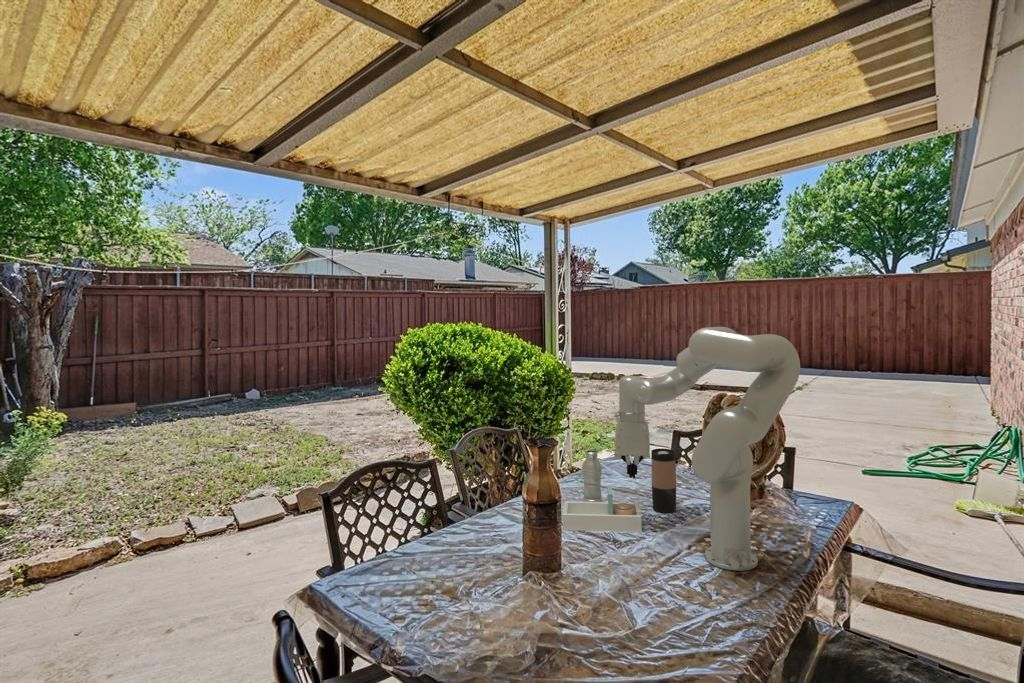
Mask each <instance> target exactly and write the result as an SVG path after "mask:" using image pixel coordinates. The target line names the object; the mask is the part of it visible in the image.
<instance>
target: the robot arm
mask: <svg viewBox="0 0 1024 683" xmlns="http://www.w3.org/2000/svg"><path fill="white" fill-rule="evenodd" d="M675 360H676V365H677V366H676V367H675V368H673V369H672V370H670V372H667V374H665V375H663V376H655V377H649V378H648V377H647V378H643V377H642V376H638V375H627V376H626V375H624V376H622V377H620V379H619V381H618V383H619V384H618V385H619V386H618V387H619V388H618V391H619V393H618V394H619V395H618V398H619V400H618V401H619V402H618V403H619V406H618V408H619V410H618V412H614V418H618V419H619V420H617V421H616V426H615V435H614V436H615V438H614V448H615V449H614V452H613V456H614V457H615V458H617V459H621V460H622V461H623V462H625V464H626V474H627V475H628V476H629V479H632V478H633V479H636V475H637V476H638V466H639V464H640V463H641V461H643V460H646V459H651V454H650V451H651V450H650V449H651V446H650V445H651V444H650V443H651V442H650V441H651V440H650V428H649V424H648V422H647V421H646V416H645V415H646V412H645V411H646V409H645V408H646V407H645V405H647V406H649V405H650V406H651V405H656V404H661V403H665V402H670V401H673V400H675V399H676V398H678V397H680V396H681V395H683V394H684V393H686V392H687V391H689V390H691V388H693V387H694V386H695V385H696V383H698V381H699V379H701V378H702V377H704V376H705V375H707V374H708V373H710V372H711V371H713V370H714V369H716V368H718V367H721V368H726V369H731V370H735V371H740V372H746V373H752V372H754V373H756V372H759V374H758V376H756V378H755V379H754V380H753V381H752V383H751V384H750V385H749V387H748V389H747V390H746V393H745V394H744V395H743V397H742V399H741V400H740V401H739V402H738V404H737V405H735V406H731V407H728V408H725V409H722V410H720V411H719V412H717V413H716V414H715V415H714V416H713V417H712V419H710V421H709V423H708V425H707V426H706V428H705V430H704V431H703V433H702V435H701V437H700V438H699V440H698V442H697V444H696V446H695V447H694V450H693V451H692V456H691V460H690V461H691V468H692V470H693V473H694V474H695V476H696V477H697V478H698V479H699V480H701V481H702V482H705V483H707V484H709V483H710V487H709V489H710V490H709V491H710V492H709V505H710V506H709V508H710V510H709V511H710V512H709V513H710V518H709V519H710V546H709V547H708V548H707V549H705V551H704V558H705V560H706V561H707V562H708V563H709V564H711V565H712V566H715V567H718V568H720V569H723V570H728V571H739V572H744V571H749V570H753V569H754V568H757V566H758V561H759V560H758V557H757V555H756V554H754V553H753V552H752V551H751V550H752V549H751V548H752V544H751V541H752V539H751V537H752V536H751V535H752V534H751V481H752V474H753V467H754V457H753V456H754V455H753V453H752V450H751V448H750V446H751V445H753V444H756V443H758V442H760V441H762V439H764V437H765V436H766V435H767V433H768V432H769V430H770V429H771V426H772V425H773V424H774V422H775V420H776V418H777V416H778V415H779V413H780V412H781V410H782V408H783V406H784V405H785V403H786V402H787V400H788V398H789V396H790V395H791V394H792V393H793V390H794V389H795V387H796V385H797V383H798V381H799V377H800V373H801V360H800V356H799V354H798V351H797V349H796V348H795V347H794V345H793V343H792V342H791V341H789V340H788V339H787V338H786V337H783V336H781V335H778V334H772V333H771V334H770V333H767V334H754V335H752V334H751V335H746V334H740V333H737V332H736V330H734V329H732V328H729V327H726V326H711V327H710V326H707V327H701V328H700V329H697V330H696V331H694V332H693V334H692V335H691V336H690V338H689V341H688V347H686V348H684V350H682V351H680V352H679V353H678V354H677V355H676V359H675ZM631 457H633V461H631Z"/></svg>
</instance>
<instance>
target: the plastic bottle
mask: <svg viewBox="0 0 1024 683" xmlns="http://www.w3.org/2000/svg"><path fill="white" fill-rule="evenodd" d="M598 457H599V456H598V451H597V450H595V449H589V450H586V451H585V460H584V461H583V463H582V465H581V472H582V476H583V487H584V488H583V499H582V502H604V500H603V495H602V487H601V486H602V485H601V484H602V483H601V479H602V470H603V467H602V464H601V461H599V459H598Z"/></svg>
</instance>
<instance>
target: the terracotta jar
mask: <svg viewBox="0 0 1024 683" xmlns="http://www.w3.org/2000/svg"><path fill="white" fill-rule="evenodd" d="M618 503H619V504H616V505H615V506H614V515H634V507H633V506H632V505H630V504H627V503H628V502H618Z"/></svg>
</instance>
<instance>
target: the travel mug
mask: <svg viewBox="0 0 1024 683" xmlns="http://www.w3.org/2000/svg"><path fill="white" fill-rule="evenodd" d="M650 451H651V454H650V459H651V492H652V493H651V496H652V498H651V499H652V509H653V511H654V512H656V513H659V514H666V515H669V514H674V513H676V512H677V470H676V469H677V468H676V467H677V466H676V465H677V464H676V451H675V450H673V449H670V448H654V449H651V450H650Z"/></svg>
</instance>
